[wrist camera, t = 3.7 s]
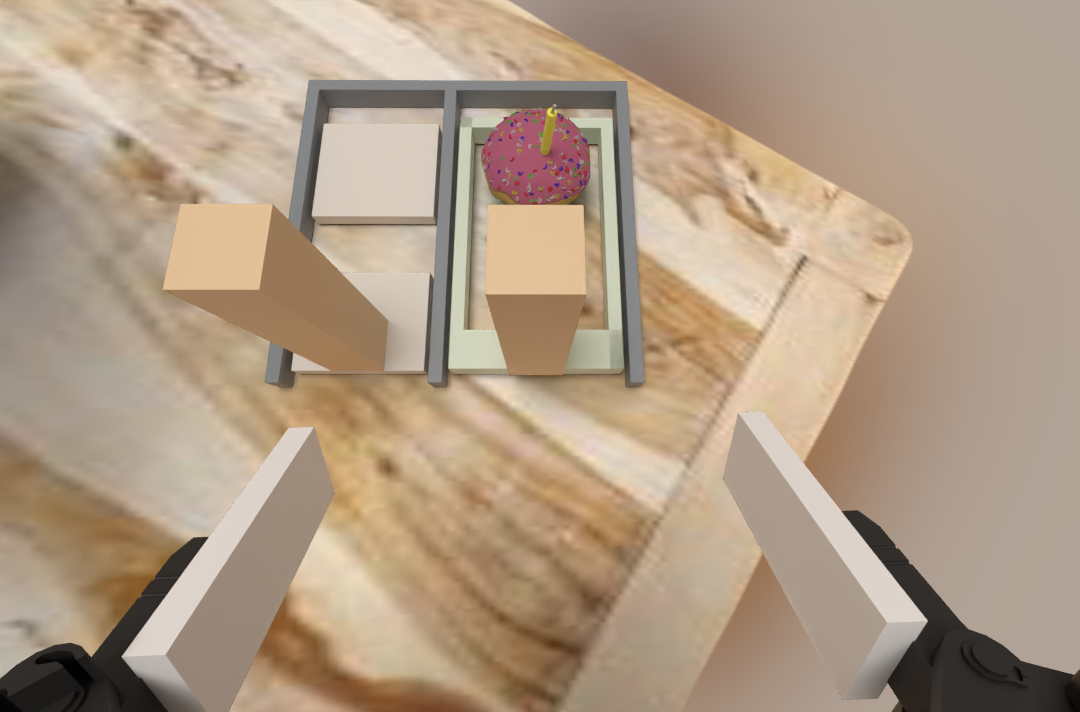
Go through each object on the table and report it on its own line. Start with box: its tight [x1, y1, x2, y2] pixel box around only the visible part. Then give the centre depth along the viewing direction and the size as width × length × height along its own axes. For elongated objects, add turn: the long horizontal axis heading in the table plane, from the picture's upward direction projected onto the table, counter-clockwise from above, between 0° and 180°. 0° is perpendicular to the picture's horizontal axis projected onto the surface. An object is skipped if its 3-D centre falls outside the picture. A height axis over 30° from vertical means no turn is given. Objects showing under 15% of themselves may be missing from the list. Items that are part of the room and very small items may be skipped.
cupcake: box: [481, 104, 590, 205], centre depth 34 cm, size 9×8×12 cm
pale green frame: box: [448, 117, 624, 375], centre depth 30 cm, size 22×13×18 cm, turn 0°
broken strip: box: [163, 124, 442, 374], centre depth 30 cm, size 22×10×17 cm, turn 0°
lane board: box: [265, 80, 644, 387], centre depth 38 cm, size 27×28×2 cm
